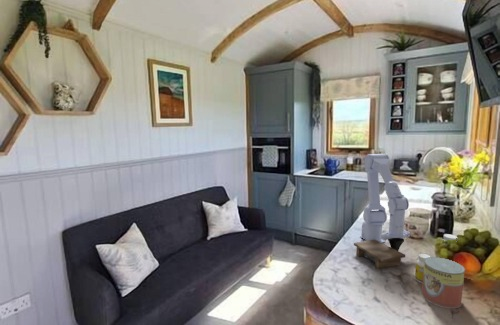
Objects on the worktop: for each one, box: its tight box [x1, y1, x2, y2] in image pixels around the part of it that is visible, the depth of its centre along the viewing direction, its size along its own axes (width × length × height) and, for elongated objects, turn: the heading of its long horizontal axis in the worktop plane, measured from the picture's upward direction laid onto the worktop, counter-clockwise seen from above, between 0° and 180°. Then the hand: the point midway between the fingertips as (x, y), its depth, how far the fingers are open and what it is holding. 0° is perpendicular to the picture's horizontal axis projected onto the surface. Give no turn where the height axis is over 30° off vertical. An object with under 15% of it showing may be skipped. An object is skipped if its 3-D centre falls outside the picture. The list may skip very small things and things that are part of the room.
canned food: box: [421, 256, 466, 309], centre depth 96 cm, size 11×11×12 cm
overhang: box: [353, 239, 406, 270], centre depth 123 cm, size 17×12×5 cm
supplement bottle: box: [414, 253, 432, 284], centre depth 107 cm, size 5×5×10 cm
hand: (394, 253), depth 127 cm, fingers closed
